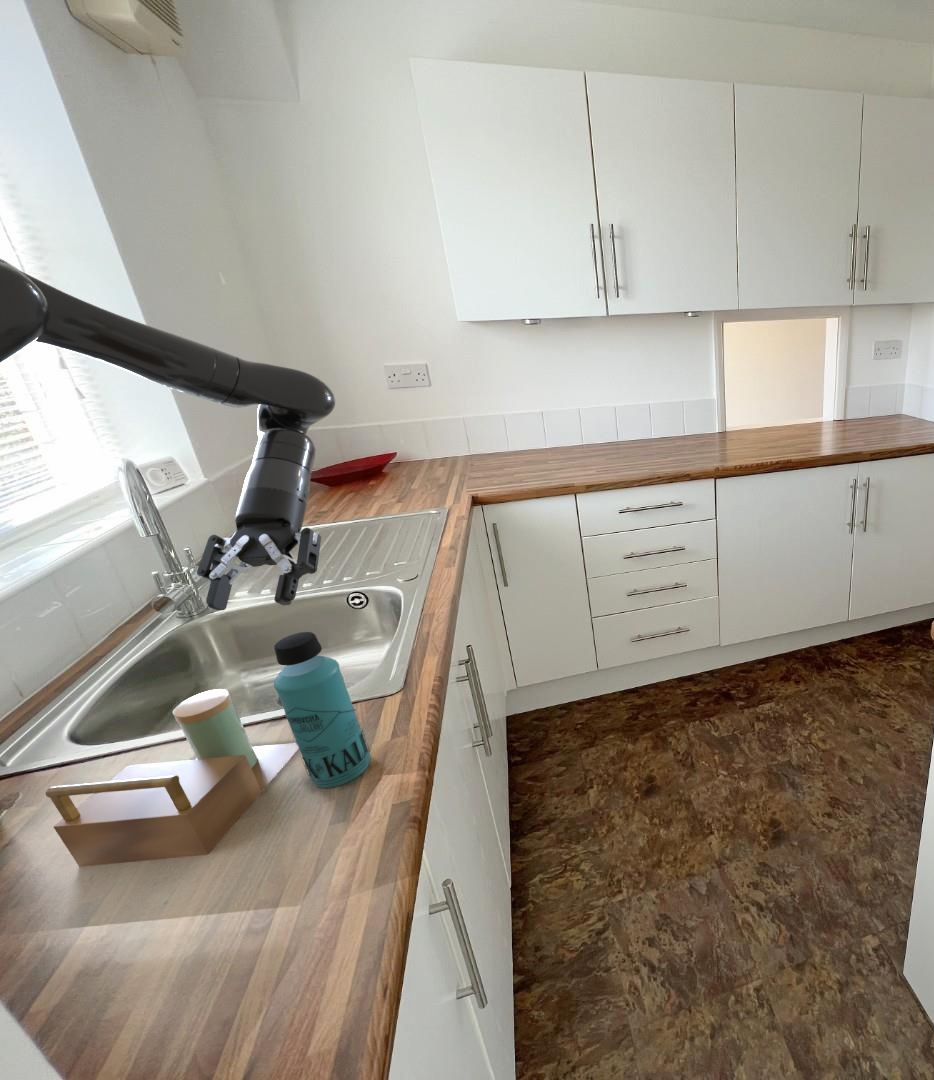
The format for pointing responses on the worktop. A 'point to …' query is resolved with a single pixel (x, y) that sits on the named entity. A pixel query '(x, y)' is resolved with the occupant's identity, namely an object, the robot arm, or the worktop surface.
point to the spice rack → (163, 807)
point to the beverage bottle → (319, 712)
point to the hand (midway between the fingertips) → (249, 606)
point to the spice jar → (214, 726)
